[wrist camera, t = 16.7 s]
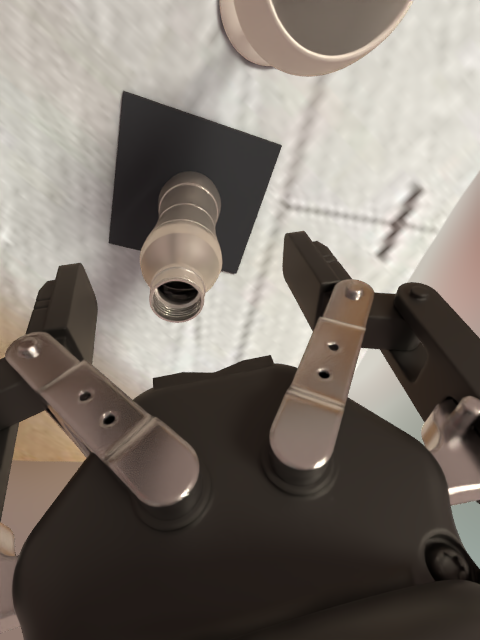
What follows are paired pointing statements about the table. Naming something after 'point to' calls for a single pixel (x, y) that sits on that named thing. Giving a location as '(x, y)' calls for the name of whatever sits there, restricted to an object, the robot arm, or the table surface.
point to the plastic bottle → (183, 247)
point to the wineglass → (309, 31)
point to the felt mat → (181, 156)
